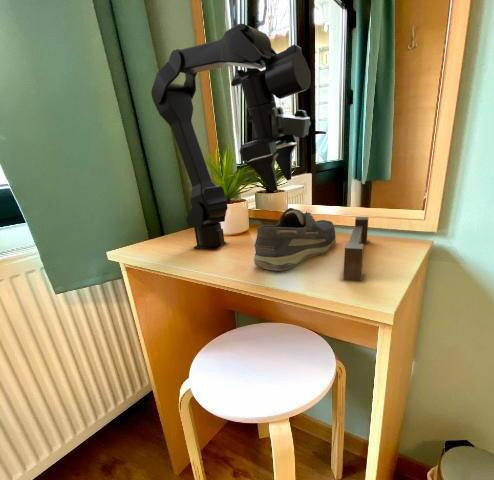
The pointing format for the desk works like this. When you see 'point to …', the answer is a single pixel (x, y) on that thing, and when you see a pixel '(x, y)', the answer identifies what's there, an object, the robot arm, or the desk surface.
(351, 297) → the desk surface
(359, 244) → the rail
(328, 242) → the boat shoe
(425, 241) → the desk surface
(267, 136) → the robot arm
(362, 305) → the desk surface
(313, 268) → the desk surface
